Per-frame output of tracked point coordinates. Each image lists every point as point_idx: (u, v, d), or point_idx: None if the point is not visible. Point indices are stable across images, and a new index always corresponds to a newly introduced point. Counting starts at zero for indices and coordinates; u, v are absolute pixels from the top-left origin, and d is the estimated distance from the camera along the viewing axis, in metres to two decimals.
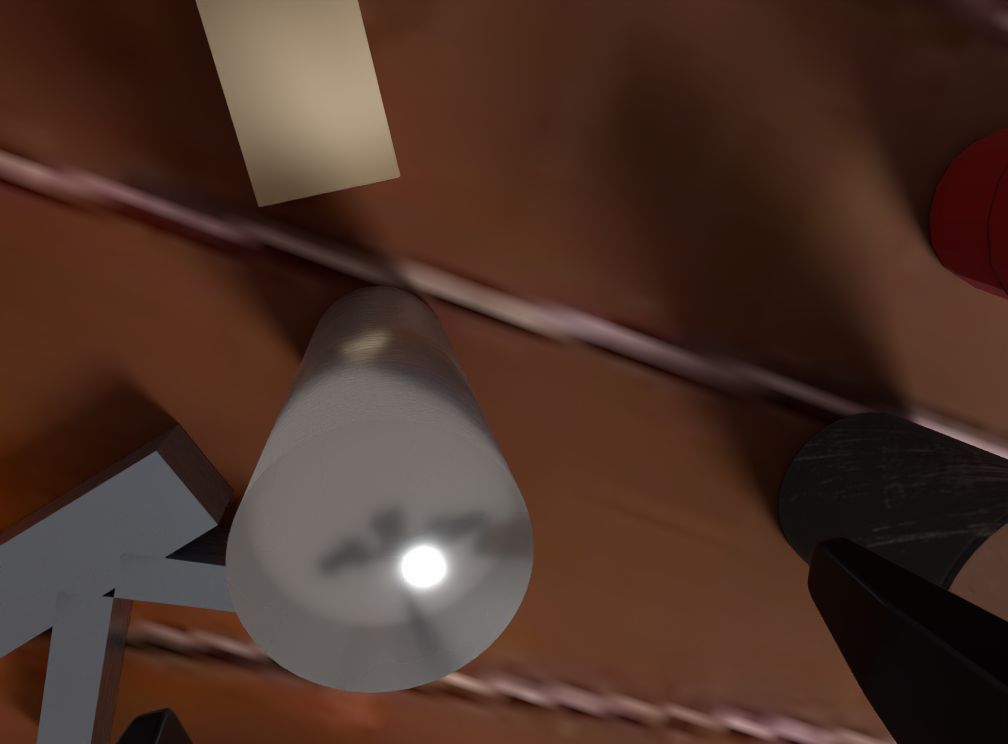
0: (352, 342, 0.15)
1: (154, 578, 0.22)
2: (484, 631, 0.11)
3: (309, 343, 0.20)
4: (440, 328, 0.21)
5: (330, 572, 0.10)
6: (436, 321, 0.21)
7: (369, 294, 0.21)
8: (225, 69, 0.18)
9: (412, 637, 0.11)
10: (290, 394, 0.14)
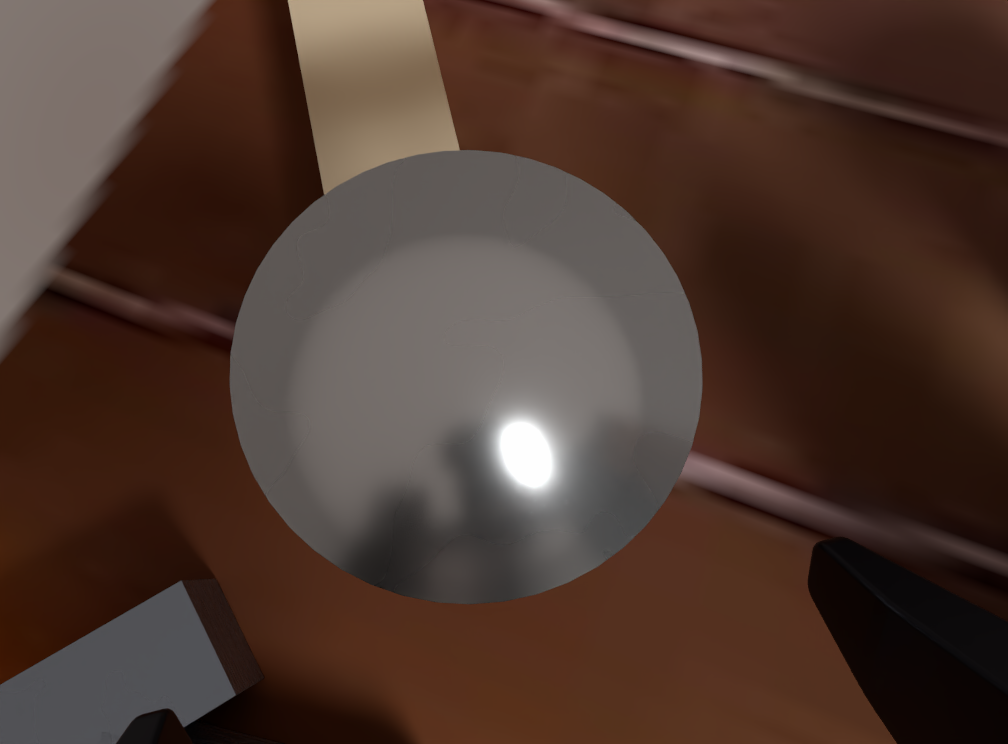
0: None
1: None
2: (633, 498, 0.06)
3: None
4: None
5: (387, 362, 0.07)
6: None
7: None
8: (329, 180, 0.19)
9: (512, 494, 0.06)
10: None
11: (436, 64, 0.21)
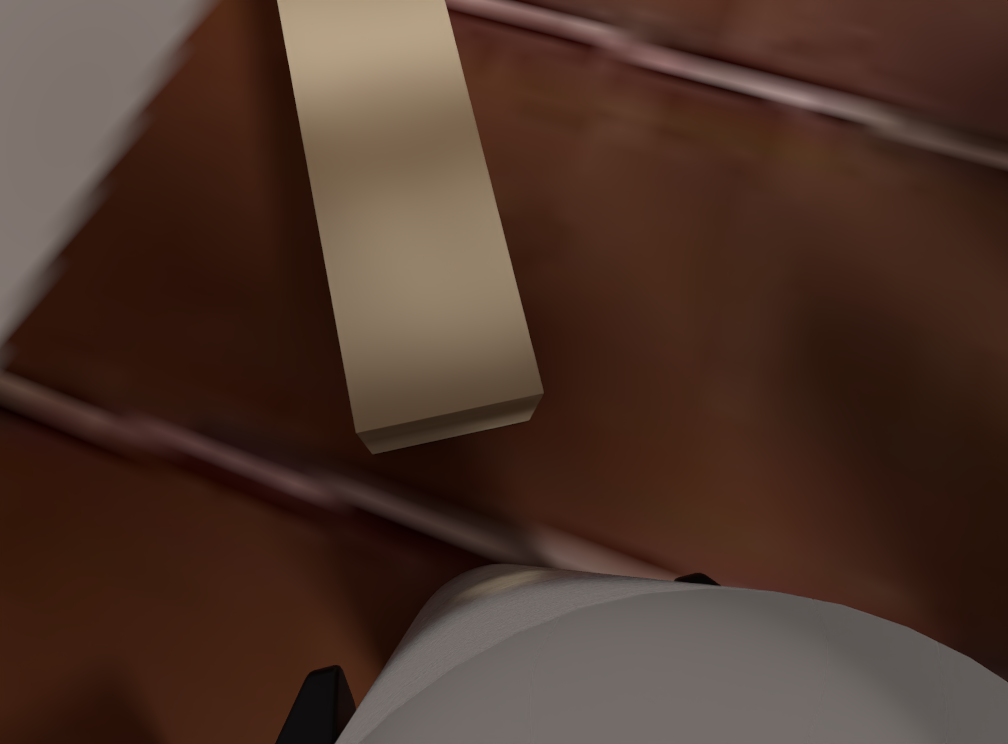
0: (500, 576, 0.08)
1: None
2: None
3: None
4: None
5: None
6: None
7: (494, 565, 0.15)
8: (337, 273, 0.15)
9: None
10: (387, 662, 0.07)
11: (471, 118, 0.16)
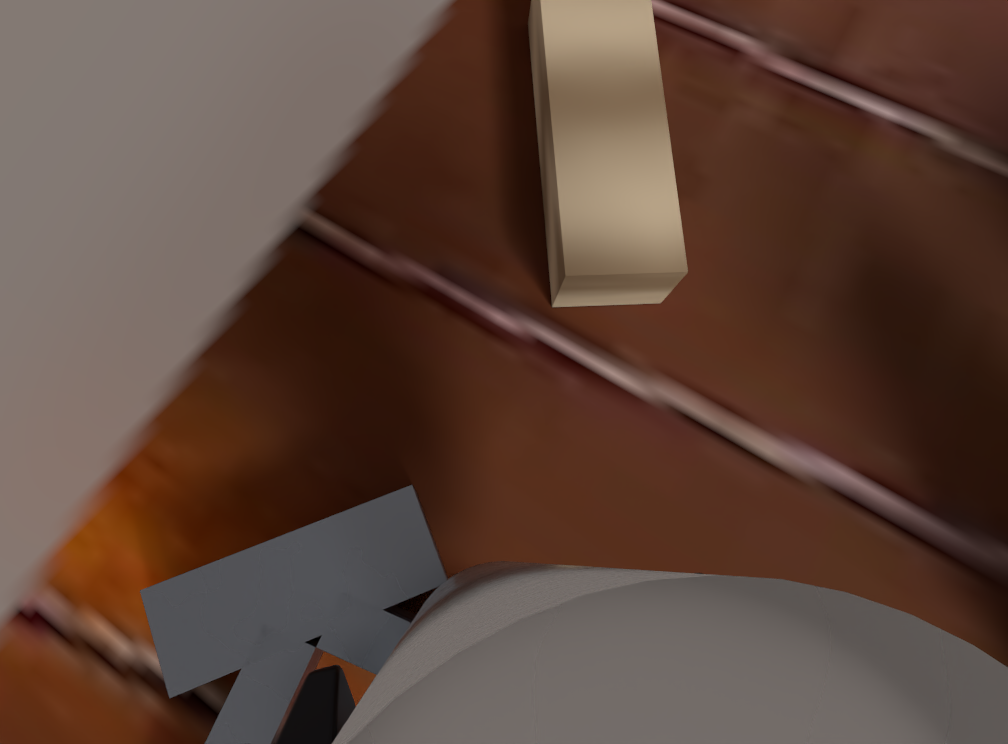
0: (501, 571, 0.08)
1: (364, 633, 0.19)
2: None
3: None
4: None
5: None
6: None
7: (495, 562, 0.15)
8: (562, 175, 0.23)
9: None
10: (389, 656, 0.07)
11: (661, 87, 0.24)
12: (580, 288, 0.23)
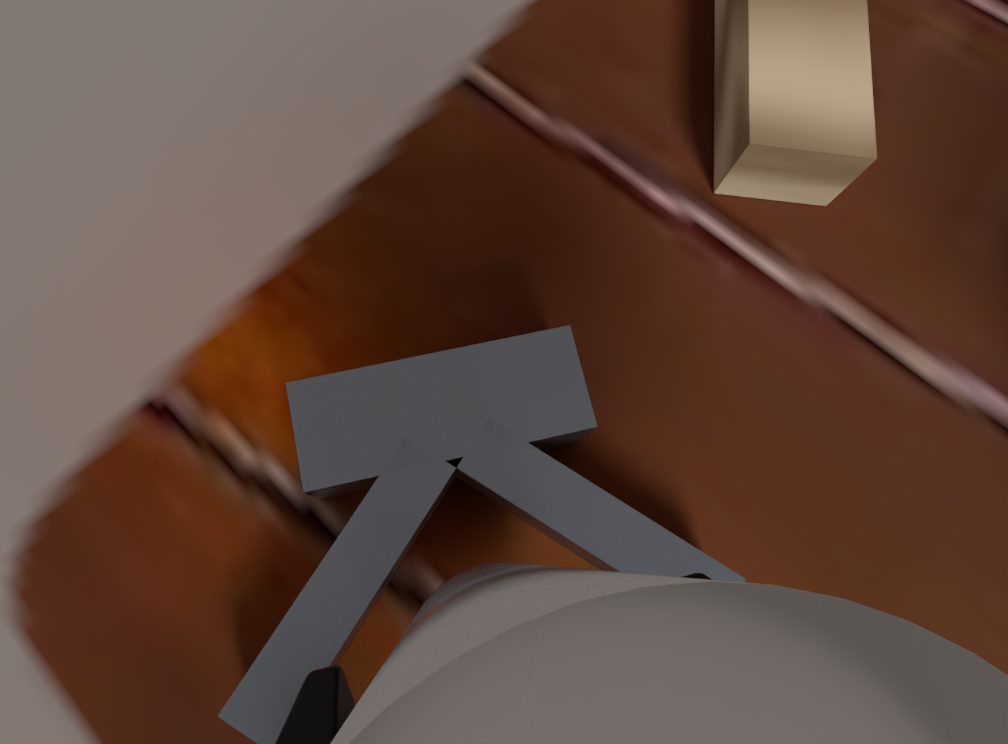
0: (500, 574, 0.08)
1: (507, 462, 0.18)
2: None
3: None
4: None
5: None
6: None
7: None
8: (755, 46, 0.22)
9: None
10: (386, 659, 0.07)
11: None
12: (755, 167, 0.22)
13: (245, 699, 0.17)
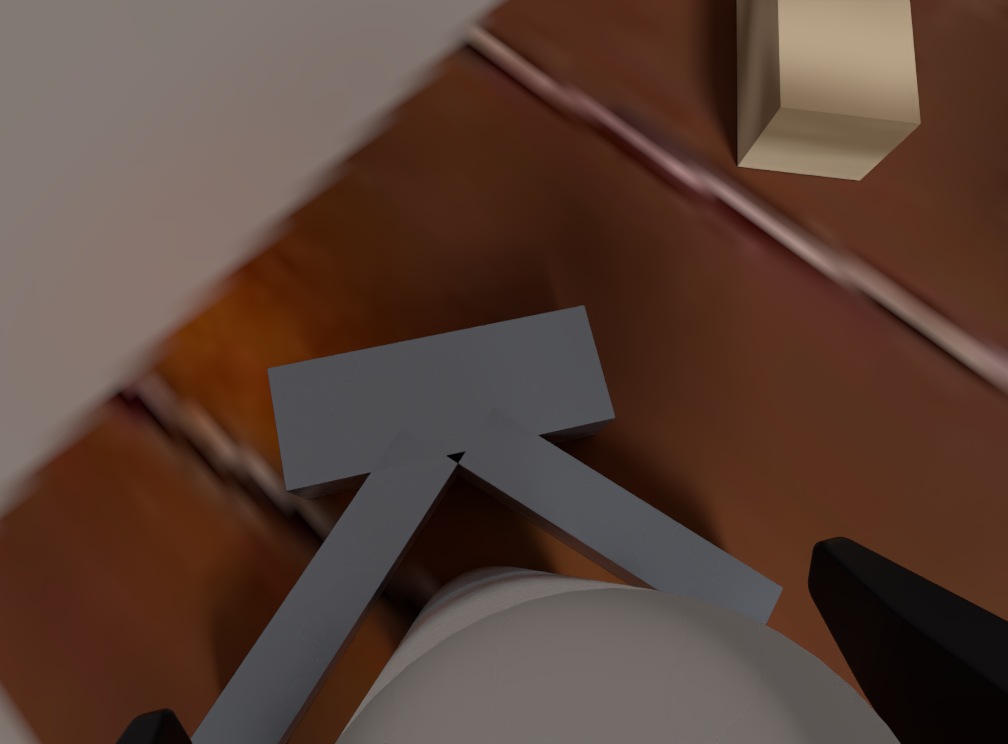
0: (490, 578, 0.10)
1: (515, 457, 0.17)
2: None
3: None
4: None
5: None
6: None
7: None
8: (785, 3, 0.20)
9: None
10: (397, 647, 0.09)
11: None
12: (785, 135, 0.20)
13: (218, 725, 0.15)
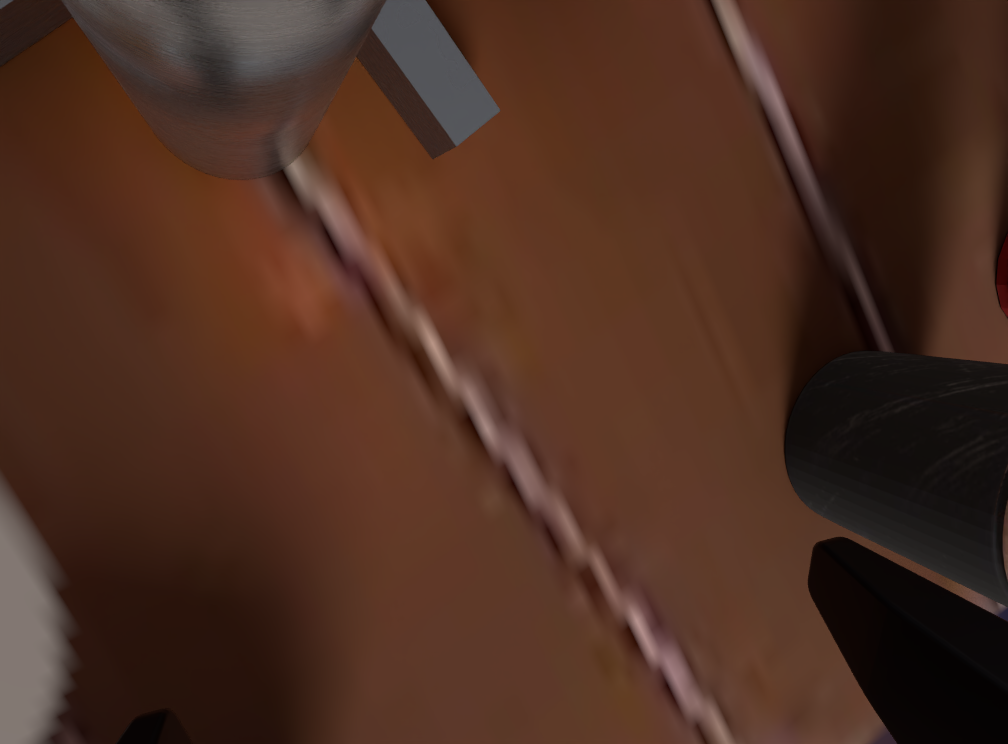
0: None
1: None
2: None
3: None
4: None
5: None
6: None
7: None
8: None
9: None
10: None
11: None
12: None
13: None
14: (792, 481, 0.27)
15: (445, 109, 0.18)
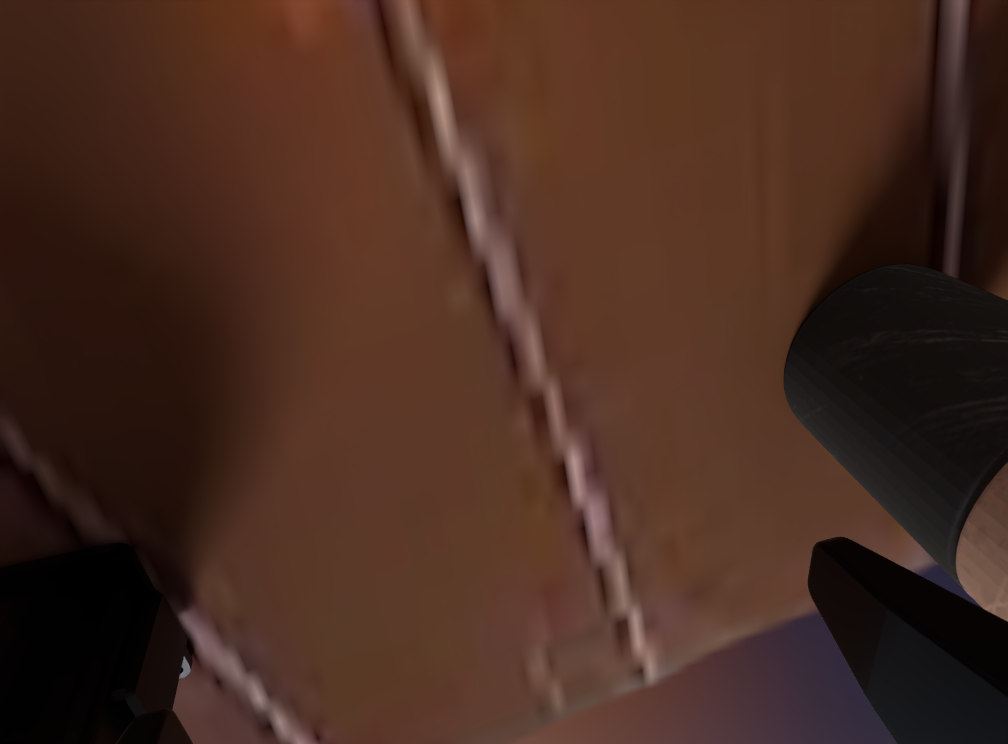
0: None
1: None
2: None
3: None
4: None
5: None
6: None
7: None
8: None
9: None
10: None
11: None
12: None
13: None
14: (785, 379, 0.25)
15: None
